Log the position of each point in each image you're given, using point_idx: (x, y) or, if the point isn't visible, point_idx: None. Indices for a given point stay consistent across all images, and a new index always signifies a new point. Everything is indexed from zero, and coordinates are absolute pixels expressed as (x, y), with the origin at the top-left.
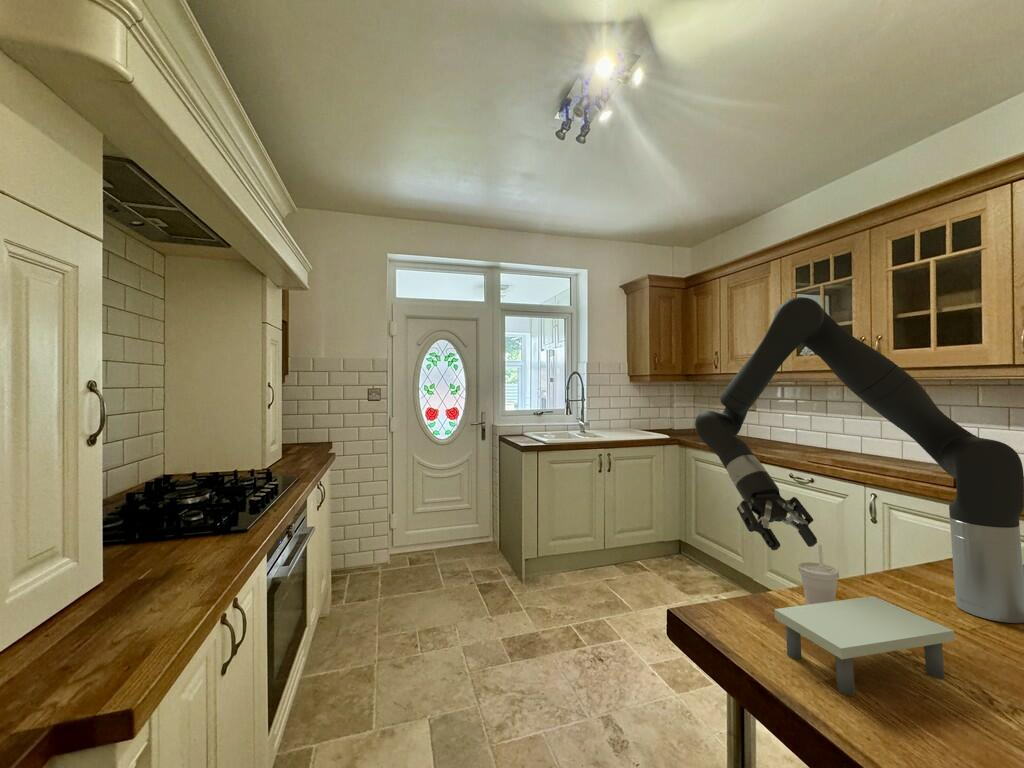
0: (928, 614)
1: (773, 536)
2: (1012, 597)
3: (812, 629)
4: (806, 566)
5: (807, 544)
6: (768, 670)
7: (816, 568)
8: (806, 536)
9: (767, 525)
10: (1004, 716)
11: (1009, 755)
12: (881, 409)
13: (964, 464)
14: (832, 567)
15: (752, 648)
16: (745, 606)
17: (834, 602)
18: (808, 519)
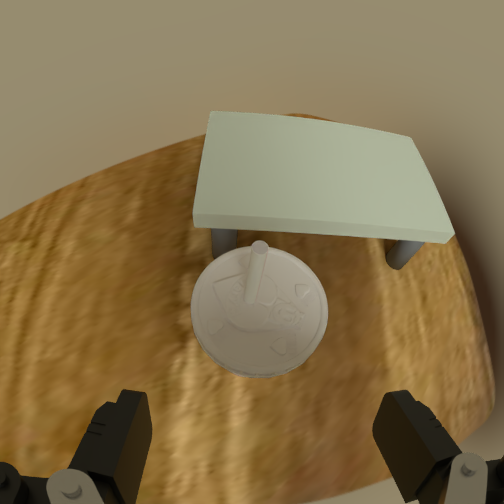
0: (17, 294)
1: (423, 420)
2: None
3: (424, 171)
4: (299, 323)
5: (149, 441)
6: (440, 244)
7: (275, 297)
8: (137, 448)
9: (457, 472)
10: None
11: (296, 113)
12: None
13: None
14: (197, 294)
15: (441, 292)
16: (372, 450)
17: (322, 216)
18: (19, 485)
